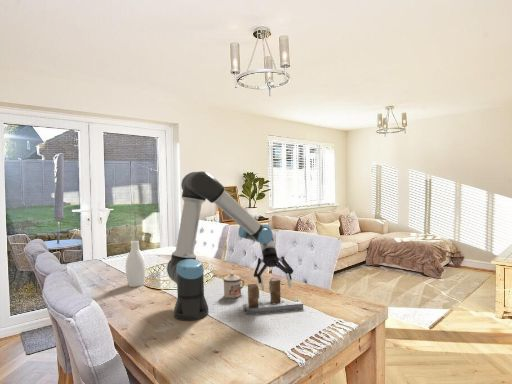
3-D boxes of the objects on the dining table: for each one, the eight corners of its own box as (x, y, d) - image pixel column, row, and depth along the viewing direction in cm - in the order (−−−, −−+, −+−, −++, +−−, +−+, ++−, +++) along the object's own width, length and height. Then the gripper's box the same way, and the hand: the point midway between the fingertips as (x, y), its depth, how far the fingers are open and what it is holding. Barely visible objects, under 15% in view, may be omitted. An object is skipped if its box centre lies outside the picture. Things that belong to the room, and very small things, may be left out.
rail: (245, 314, 147) (245, 309, 147) (243, 308, 154) (243, 303, 154) (304, 309, 152) (304, 303, 152) (299, 303, 159) (299, 298, 159)
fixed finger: (249, 311, 151) (249, 287, 151) (248, 307, 155) (247, 284, 155) (259, 310, 152) (259, 286, 152) (258, 306, 156) (257, 283, 156)
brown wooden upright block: (271, 303, 159) (270, 281, 159) (269, 300, 163) (268, 278, 163) (280, 302, 160) (280, 280, 160) (278, 300, 164) (278, 277, 164)
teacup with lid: (229, 299, 166) (229, 276, 166) (220, 295, 173) (219, 272, 173) (249, 294, 173) (248, 272, 173) (239, 290, 181) (239, 268, 180)
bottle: (147, 286, 192) (145, 242, 191) (126, 288, 188) (124, 243, 187) (145, 280, 202) (144, 239, 201) (126, 283, 198) (124, 240, 197)
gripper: (290, 252, 182) (299, 288, 168) (244, 256, 177) (250, 293, 163) (292, 245, 176) (302, 281, 162) (246, 248, 172) (252, 286, 157)
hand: (276, 287), depth 163 cm, fingers open, 13 cm apart
